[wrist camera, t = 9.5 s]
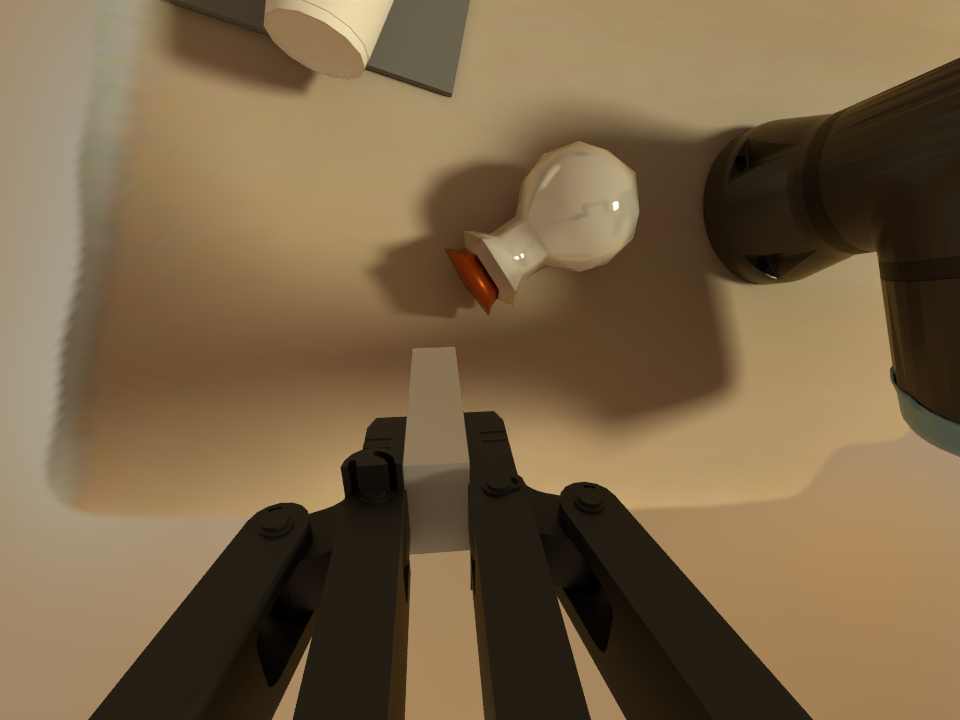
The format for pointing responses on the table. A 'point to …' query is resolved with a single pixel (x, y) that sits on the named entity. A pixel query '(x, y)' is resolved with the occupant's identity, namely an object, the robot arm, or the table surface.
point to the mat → (384, 37)
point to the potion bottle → (554, 223)
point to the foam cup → (327, 32)
